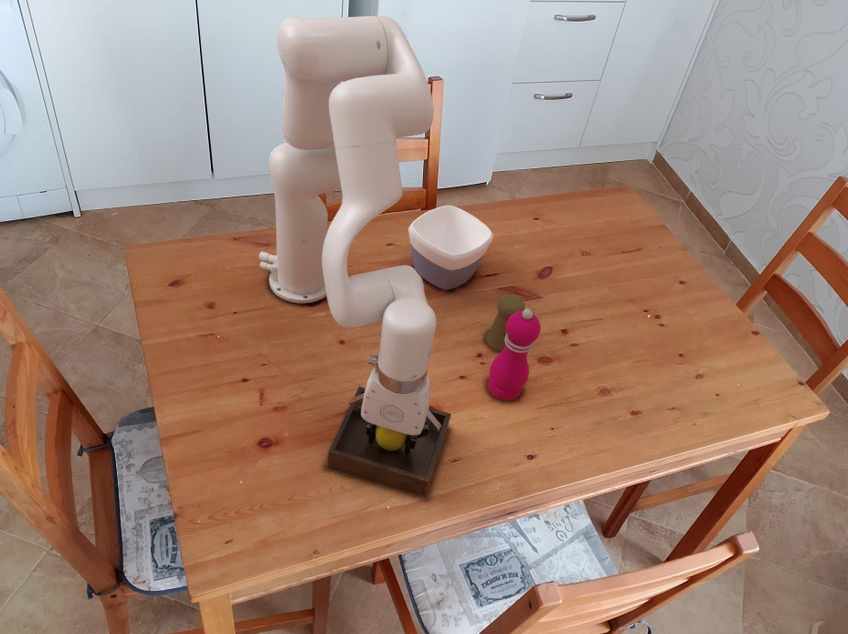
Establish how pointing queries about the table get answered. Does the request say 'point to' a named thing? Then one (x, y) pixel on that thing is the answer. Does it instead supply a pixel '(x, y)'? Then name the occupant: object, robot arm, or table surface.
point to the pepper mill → (514, 356)
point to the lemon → (390, 438)
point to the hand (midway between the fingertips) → (390, 442)
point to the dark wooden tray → (386, 454)
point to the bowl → (448, 245)
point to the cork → (503, 320)
